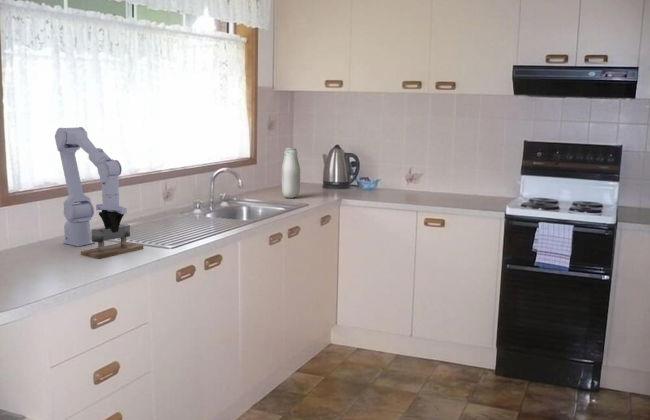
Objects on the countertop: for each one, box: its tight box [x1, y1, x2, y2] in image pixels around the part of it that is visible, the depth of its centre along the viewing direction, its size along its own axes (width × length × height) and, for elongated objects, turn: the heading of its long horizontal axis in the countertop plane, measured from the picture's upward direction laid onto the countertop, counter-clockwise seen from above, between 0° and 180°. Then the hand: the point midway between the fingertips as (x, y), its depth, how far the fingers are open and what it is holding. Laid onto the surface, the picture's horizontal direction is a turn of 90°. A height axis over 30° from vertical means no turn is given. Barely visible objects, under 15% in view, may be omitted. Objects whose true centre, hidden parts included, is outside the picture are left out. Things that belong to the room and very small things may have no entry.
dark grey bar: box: [90, 223, 131, 243], centre depth 251 cm, size 4×16×4 cm, turn 146°
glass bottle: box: [280, 146, 301, 199], centre depth 381 cm, size 10×10×28 cm
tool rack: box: [80, 237, 144, 260], centre depth 252 cm, size 10×20×4 cm, turn 146°
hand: (112, 231), depth 251 cm, fingers closed on dark grey bar, 3 cm apart
